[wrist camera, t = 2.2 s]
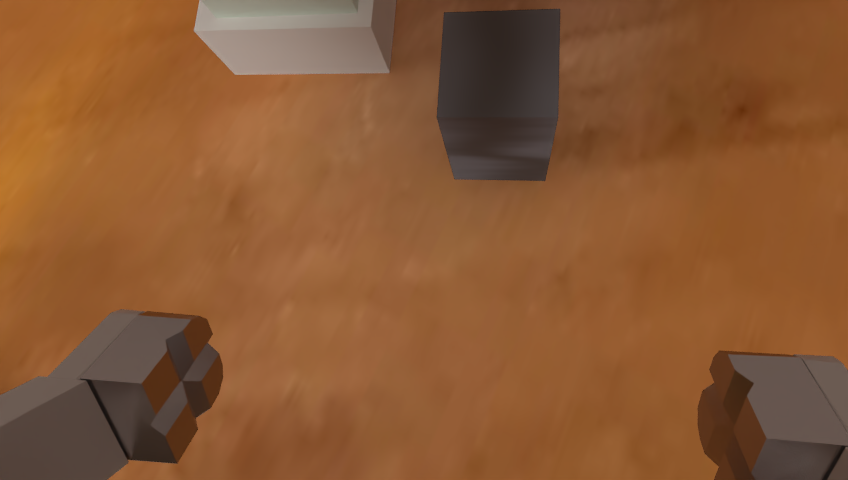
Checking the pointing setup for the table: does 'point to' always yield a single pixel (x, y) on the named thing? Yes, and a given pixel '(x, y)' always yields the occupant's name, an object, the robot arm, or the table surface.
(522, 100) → the charcoal block
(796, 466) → the robot arm
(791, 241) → the table surface
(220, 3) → the tower top
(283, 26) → the tower base
